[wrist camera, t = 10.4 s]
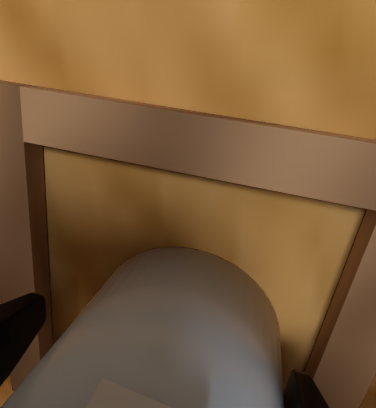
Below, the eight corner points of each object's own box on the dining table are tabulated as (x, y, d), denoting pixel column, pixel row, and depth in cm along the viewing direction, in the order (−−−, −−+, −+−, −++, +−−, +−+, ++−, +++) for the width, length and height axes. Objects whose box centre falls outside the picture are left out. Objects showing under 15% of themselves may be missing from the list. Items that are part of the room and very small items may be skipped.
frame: (462, 153, 7) (485, 161, 6) (309, 472, 12) (312, 498, 11) (-4, 79, 9) (-28, 78, 8) (25, 374, 14) (12, 390, 13)
